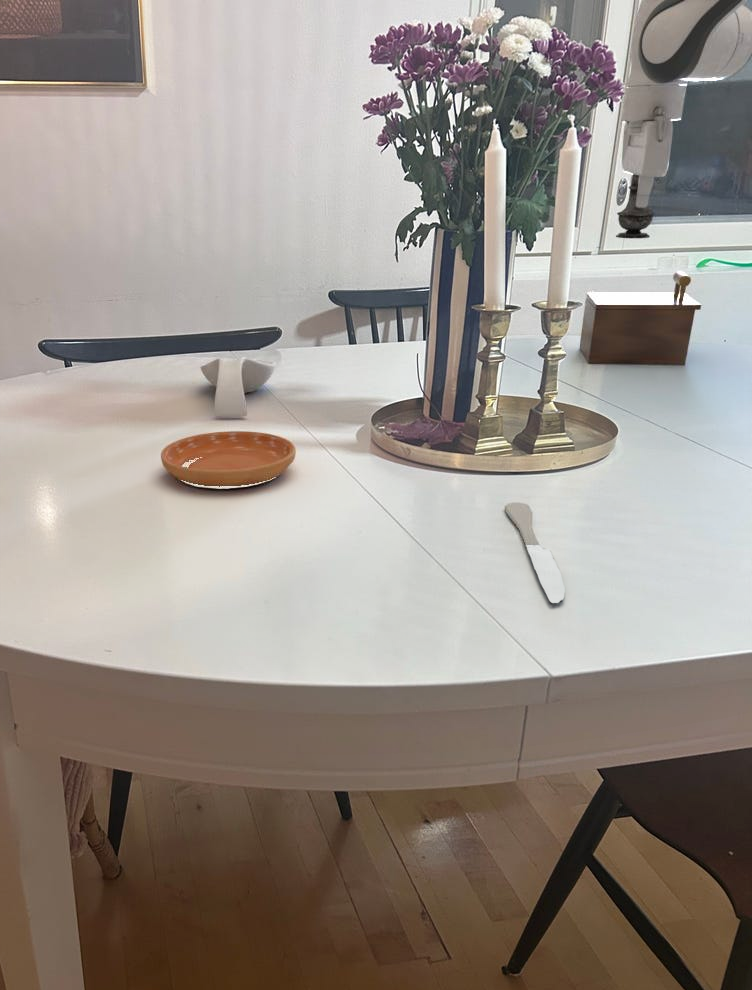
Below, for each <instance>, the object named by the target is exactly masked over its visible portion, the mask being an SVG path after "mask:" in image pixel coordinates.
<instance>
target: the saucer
mask: <svg viewBox="0 0 752 990" xmlns="http://www.w3.org/2000/svg"><path fill="white" fill-rule="evenodd" d="M296 452H297V448H296V446H295V444H294V443H293V442H292V441H290V440H288V438H285V437H282V436H280V435H275V434H271V433H266V432H260V431H259V432H258V431H249V430H247V431H246V430H245V431H244V430H232V431H230V430H227V431H216V432H214V431H213V432H206V433H201V434H200V433H199V434H196V435H191V436H186V437H184V438H181V439H178V440H175V441H173V442H172V443H169V444H168V445H166V446H165V447H163V449H162V451H161V453H160V459H161V464H162V466H163V468H164V469H165V470H166V471H168V472H169V474H170V475H172V476H174V477H175V478H176V477H177V478H178V479H177V478H176V479H177V480H179V479H180V480H183V481H186V482H189V483H193V484H198V485H204V486H219V487H220V486H241V485H249V484H255V483H259V482H263V481H267V480H270V479H272V478H274V477H277V476H278V477H280V476H281V474H282V473H284V472H285V471H286V470H287V469H288V468H289V467H290V465H292V463H294V461H295V458H296V454H297V453H296ZM200 457H202V458H200ZM195 458H199V459H197V460H196V459H195ZM194 459H195V460H196V461H195V462H193V463H191V464H190V465H189V467H188V468H187V467H182V465H183V464H184V463H185V462H189V460H194ZM190 462H191V461H190ZM278 477H277V478H278ZM180 480H179V481H180Z"/></svg>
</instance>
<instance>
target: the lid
mask: <svg viewBox="0 0 752 990" xmlns="http://www.w3.org/2000/svg"><path fill="white" fill-rule="evenodd" d="M672 279H673V282H674V290H673V292H609V291H608V292H606V291H605V292H601V291H600V292H598V291H597V292H594V291H592V292H591V291H590V292H588V291H587V292H586V294H585V298H586V297H587V299H588V300H589V301H590V302H591V304H592V305H593V306H594V307H595V309H654V310H695V311H700V310H701V309H702V304H701V303H699V302H698V301H697V300H695V299H694V298H692V297H691V296H689V295H688V294H687V293H686V289H687V287H688V286H689V285H690V284H691V283H692V282H691V281H692V278H691V276H690V275H688V274H686V273H685V272H684V271H681V270H679V271H676V272H675V273H674V274H673V276H672Z"/></svg>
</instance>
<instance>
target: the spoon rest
mask: <svg viewBox="0 0 752 990" xmlns="http://www.w3.org/2000/svg"><path fill="white" fill-rule="evenodd" d="M199 369H200V370H201V373H202V375H203V376H204V377H205V379H206V380H207V381H208V382H209V384H211V385H213V386H214V387H215V388H216V389H215V393H214V394H215V395H214V405H213V415H214V417H217V418H240V417H246V416H247V415H248V408H247V407H248V406H247V402H246V396H245V394H248V393H247V392H249V393H253V392H256V391H257V390H258V389H259V388H260V387H262V386H263V385H265V384H266V383H267V382H268V381H269V380H270V378H271V377H272V375H273V374H274V371H275V369H276V363H275V362H273V361H269V360H261V359H253V358H249V357H246V356H242V357H238V358H235V359H225V358H222V357H219V358H216V359H214V360H212V361H210V362H207V363H203V364H201V365H200V368H199ZM255 390H256V391H255ZM252 391H253V392H252Z"/></svg>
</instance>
